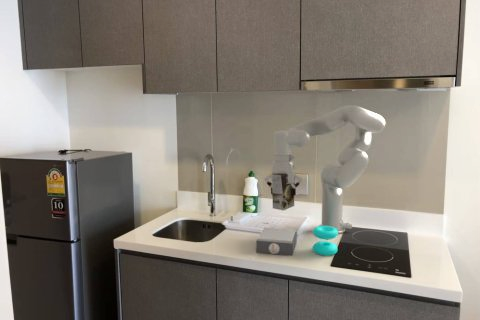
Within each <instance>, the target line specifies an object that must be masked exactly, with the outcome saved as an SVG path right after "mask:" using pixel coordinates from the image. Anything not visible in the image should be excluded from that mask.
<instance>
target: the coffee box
mask: <svg viewBox="0 0 480 320" xmlns="http://www.w3.org/2000/svg"><path fill="white" fill-rule="evenodd" d="M271 174H272V173H271ZM271 183H272V194H271V196H273V197H272V209H275V210H280V211H286V210H288V209H290V208H293V207H295V196H294V197H292V188H293V187H292V186H291V184H288V174H272V177H271Z"/></svg>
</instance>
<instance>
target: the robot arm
mask: <svg viewBox="0 0 480 320" xmlns="http://www.w3.org/2000/svg"><path fill="white" fill-rule="evenodd" d="M349 125H350V126H351V125H353V126H354V130H355V133H354V137H353V138H352V139H351V140H350V142H349V143H348V144H347V145H346V146H345V147H344V148H343V149H342V150H341V151H340V153H339V154H338V156H337V161H338V164H339V165H340V166H339V165H337V164H332V163H331V164H326V165H324V166H323V168H322V169H321V172H320V180H321V224H319V225H318V226H331V227H334V228H335V229H337V231H338V235H339V234H343V233H345V231H346V229H353V224H351V223H350V222H344V220H343V202H344V191H343V190H346V189H348V188H350V187H351V186H352V185H353V184H354V183H355V182H356V181H357V180H358V179H359V178H360V176H361V175H362V174H363V173H364V172H365V171H366V169H367V167H368V166H369V162H370V161H369V156H368V154H367V153H366V152H367V151H368V150H369V148H370V147H371V144H372V134H379V133H381V132H383V130H384V129H385V127H386V120H385V118H384V117H383V116H382V115H381V114H378V113H375V112H373V111H372V110H371V111H370V110H368V109H365V108H363V107H361V106H359V105H343V106H340V107H339V108H337V109H334V110H333V111H330V112H327V113H326V114H323V115H322V116H319V117H316V118H313V119H309V120H307V121H304V122H302V123H299V124H297V125H295V126H293V127H291V128H289V129H288V130H276V131H274V132H273V150H274V151H273V154H274V155H273V157H274V158H273V160H272V161H273V162H272V166H271V174H269V175H268V176H266V177H264V178H263V179H264V182H266V185H267V186H269V188H270V194H271V196H272V181H270V179H272V174H288V184H291V186H292V187H293V188H292V197H294V198H295V196H296V193H297V192H296V191H297V188H298V186H300V184H301V183H302V180H303V178H302V177H300V176H298V175H297V174H295V165H294V161H293V160H295V155H292V147H297V148H301V147H302V148H303V147H306V146H307V145H308V144H309V143H310V140H311V137H314V136H321V135H322V136H323V135H327V134H331V133H333V132H334V131H338V130H339V129H341V128H343V127H345V126H349ZM295 180H297V181H296V183H295ZM271 198H273V196H272V197H271Z"/></svg>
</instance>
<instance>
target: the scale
mask: <svg viewBox="0 0 480 320" xmlns="http://www.w3.org/2000/svg"><path fill="white" fill-rule="evenodd" d="M297 233H298V232H297V230H296V229H291V228H290V229H289V228H280V227H279V228H277V227H276V228H275V227H266V226H265V227H263V228H262V230H261V232H260V234H259V236H257V239H256V241H255V242H256V243H255V253H256V254H257V253H258V254H267V255H269V254H271V255H278V254H279V256H291V257H292V256H293V255H294V253H295V250H296V245H297V241H298V238H297V237H298V234H297Z"/></svg>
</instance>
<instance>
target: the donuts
mask: <svg viewBox="0 0 480 320" xmlns="http://www.w3.org/2000/svg"><path fill="white" fill-rule="evenodd" d="M312 233H313V235H314V236H315V238H318V239H320V241H318V242H315V243H314V244H313V245H312V250H313V252H314V253H315V254H316V255H320V256H324V257H325V256H333V255H335V254H336V253H338V251H339V250H338V246H337V245H336V244H335V243H333V242H331V241H326V240H333V239H335V238H336V237H338V235H339V234H338V231H337V229H335V228H334V227H331V226H319V225H318V226H316V227H314V228H313V230H312Z"/></svg>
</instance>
